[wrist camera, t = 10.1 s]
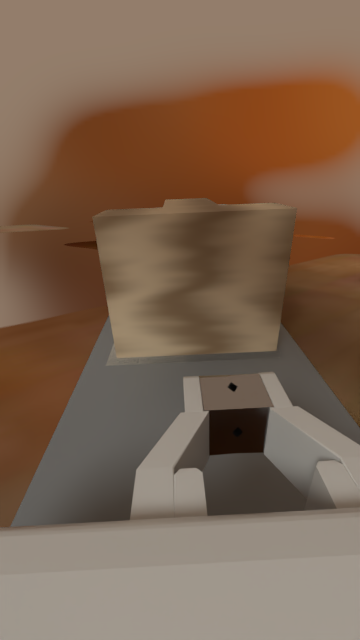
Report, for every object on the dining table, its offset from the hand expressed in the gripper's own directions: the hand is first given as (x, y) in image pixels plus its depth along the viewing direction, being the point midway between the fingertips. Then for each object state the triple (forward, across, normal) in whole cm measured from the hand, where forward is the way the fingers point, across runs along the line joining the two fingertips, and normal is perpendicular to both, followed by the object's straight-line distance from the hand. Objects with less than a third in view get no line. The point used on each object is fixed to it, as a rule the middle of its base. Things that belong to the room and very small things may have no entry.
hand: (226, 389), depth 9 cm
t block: (+16, 0, +5) cm, 17 cm away
